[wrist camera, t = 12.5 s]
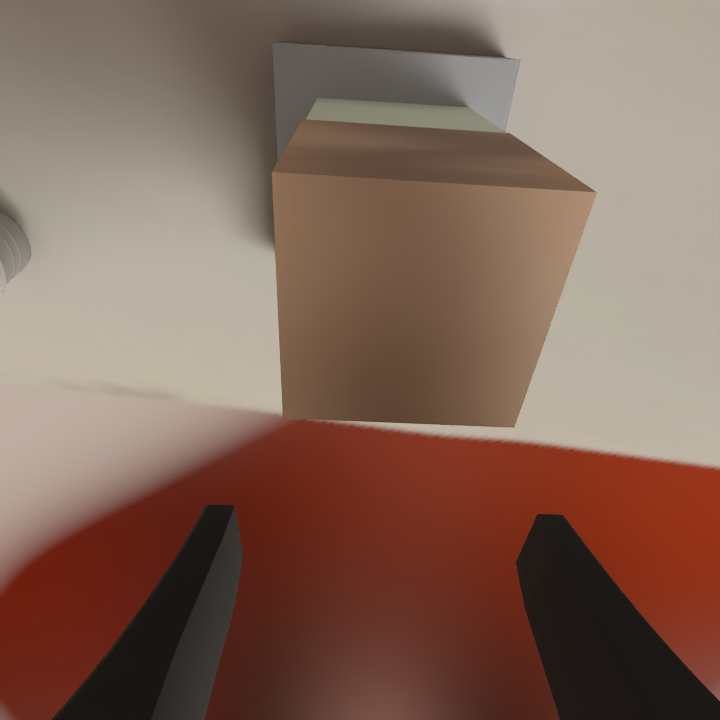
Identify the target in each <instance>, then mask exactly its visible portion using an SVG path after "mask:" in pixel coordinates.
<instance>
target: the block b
mask: <svg viewBox="0 0 720 720" xmlns="http://www.w3.org/2000/svg"><path fill="white" fill-rule="evenodd" d="M272 193H273V214H274V235H275V257H276V278H277V299H278V321H279V342H280V363H281V385H282V406H283V418H292V419H317V420H341V421H366V422H391V423H415V424H440V425H464V426H489V427H513V428H514V427H515V424H516V421H517V418H518V415H519V412H520V410H521V407H522V404H523V401H524V398H525V395H526V393H527V390H528V387H529V384H530V381H531V378H532V375H533V373H534V370H535V367H536V364H537V361H538V358H539V356H540V353H541V350H542V347H543V344H544V341H545V338H546V336H547V333H548V330H549V327H550V324H551V321H552V319H553V316H554V313H555V310H556V307H557V304H558V301H559V299H560V296H561V293H562V290H563V287H564V284H565V282H566V279H567V276H568V273H569V270H570V267H571V264H572V262H573V259H574V256H575V253H576V250H577V247H578V245H579V242H580V239H581V236H582V233H583V230H584V227H585V225H586V222H587V219H588V216H589V213H590V210H591V208H592V205H593V202H594V199H595V196H596V193H597V192H595V191H594V190H592V189H591V188H589V187H588V186H586V185H585V184H584V183H582V182H581V181H579V180H578V179H576V178H575V177H573V176H572V175H570V174H569V173H567V172H566V171H564V170H563V169H561V168H560V167H559V166H557V165H556V164H554V163H553V162H551V161H550V160H548V159H547V158H545V157H544V156H542V155H541V154H539V153H538V152H536V151H535V150H534V149H532V148H531V147H529V146H528V145H526V144H525V143H523V142H522V141H520V140H519V139H517V138H516V137H514V136H513V135H511V134H510V133H499V132H485V131H470V130H455V129H440V128H426V127H411V126H396V125H381V124H367V123H352V122H337V121H322V120H308V119H303V120H302V121H301V123H300V125H299V126H298V128H297V130H296V131H295V133H294V135H293V136H292V138H291V140H290V142H289V143H288V145H287V147H286V148H285V150H284V152H283V153H282V155H281V157H280V159H279V160H278V162H277V164H276V165H275V167H274V169H273V170H272Z"/></svg>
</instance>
